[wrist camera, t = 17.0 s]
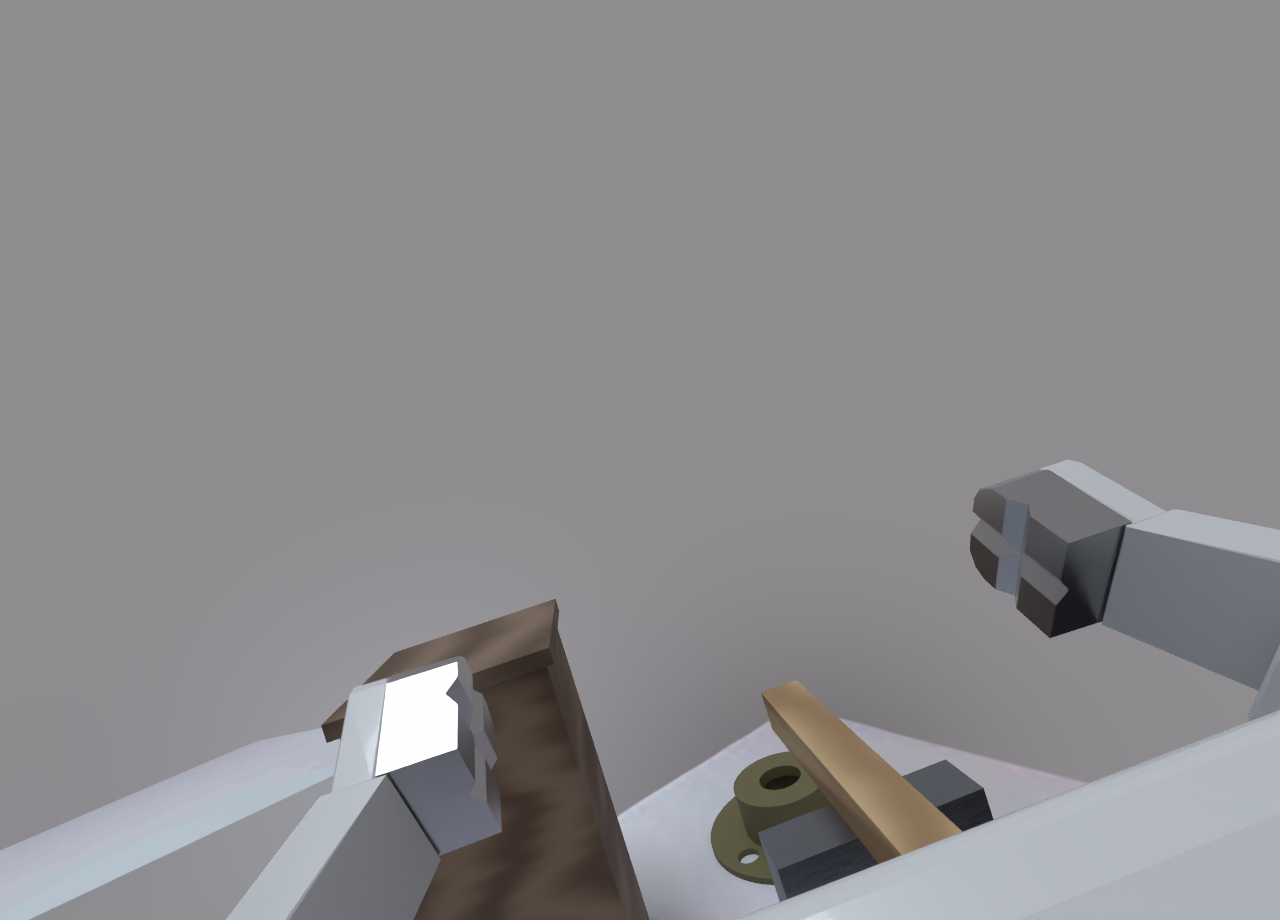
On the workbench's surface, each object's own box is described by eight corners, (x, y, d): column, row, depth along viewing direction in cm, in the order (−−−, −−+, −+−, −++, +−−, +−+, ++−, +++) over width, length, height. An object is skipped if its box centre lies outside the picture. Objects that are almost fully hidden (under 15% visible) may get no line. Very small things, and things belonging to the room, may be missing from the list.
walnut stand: (464, 1173, 36) (321, 725, 36) (495, 969, 51) (394, 652, 51) (685, 1078, 37) (549, 647, 37) (652, 907, 52) (555, 599, 52)
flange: (665, 801, 59) (785, 856, 47) (775, 722, 68) (901, 751, 56) (681, 850, 59) (805, 918, 47) (789, 765, 68) (918, 803, 56)
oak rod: (999, 1017, 19) (975, 940, 19) (772, 729, 41) (761, 693, 41) (1072, 986, 19) (1048, 909, 19) (807, 716, 41) (796, 680, 41)
